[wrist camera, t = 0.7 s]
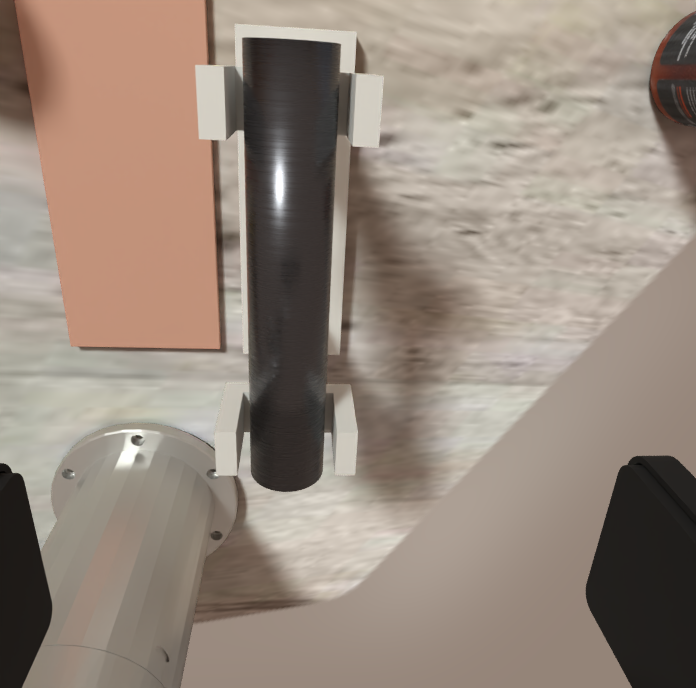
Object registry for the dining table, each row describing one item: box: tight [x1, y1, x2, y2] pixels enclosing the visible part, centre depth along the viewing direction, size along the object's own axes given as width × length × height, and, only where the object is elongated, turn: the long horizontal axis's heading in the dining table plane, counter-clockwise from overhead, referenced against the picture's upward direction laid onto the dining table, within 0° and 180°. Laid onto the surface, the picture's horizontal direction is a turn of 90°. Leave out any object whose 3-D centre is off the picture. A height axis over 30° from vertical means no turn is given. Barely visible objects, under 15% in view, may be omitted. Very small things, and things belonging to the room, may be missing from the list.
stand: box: [195, 24, 384, 476], centre depth 27 cm, size 18×6×16 cm, turn 177°
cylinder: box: [242, 37, 341, 492], centre depth 21 cm, size 16×3×3 cm, turn 177°
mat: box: [14, 0, 221, 349], centre depth 32 cm, size 20×9×1 cm, turn 177°
